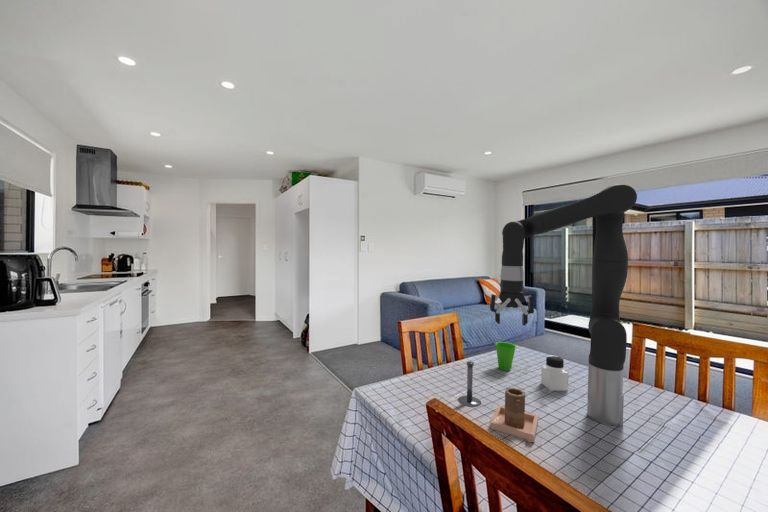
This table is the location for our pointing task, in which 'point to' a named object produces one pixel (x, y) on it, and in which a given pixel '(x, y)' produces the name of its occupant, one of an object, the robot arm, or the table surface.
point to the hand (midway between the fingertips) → (511, 324)
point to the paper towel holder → (469, 389)
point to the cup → (505, 355)
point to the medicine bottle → (554, 374)
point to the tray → (525, 432)
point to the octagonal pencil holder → (515, 408)
